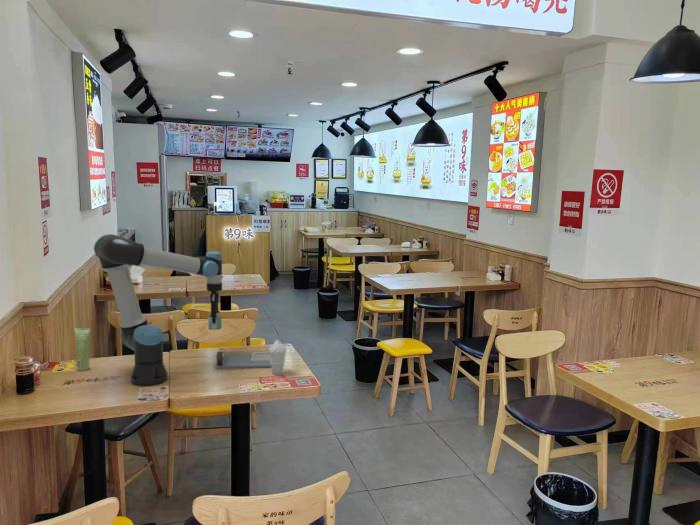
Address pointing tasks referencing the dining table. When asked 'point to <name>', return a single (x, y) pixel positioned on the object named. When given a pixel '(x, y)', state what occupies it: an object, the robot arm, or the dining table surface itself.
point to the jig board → (245, 360)
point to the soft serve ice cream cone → (277, 357)
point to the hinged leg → (220, 356)
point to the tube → (82, 348)
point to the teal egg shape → (219, 322)
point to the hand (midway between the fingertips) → (214, 327)
